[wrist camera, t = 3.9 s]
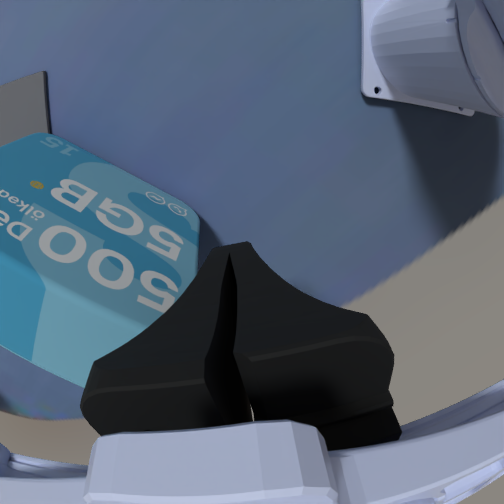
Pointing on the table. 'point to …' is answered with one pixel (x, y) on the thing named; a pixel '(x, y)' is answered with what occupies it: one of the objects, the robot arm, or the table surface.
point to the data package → (84, 254)
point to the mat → (23, 108)
